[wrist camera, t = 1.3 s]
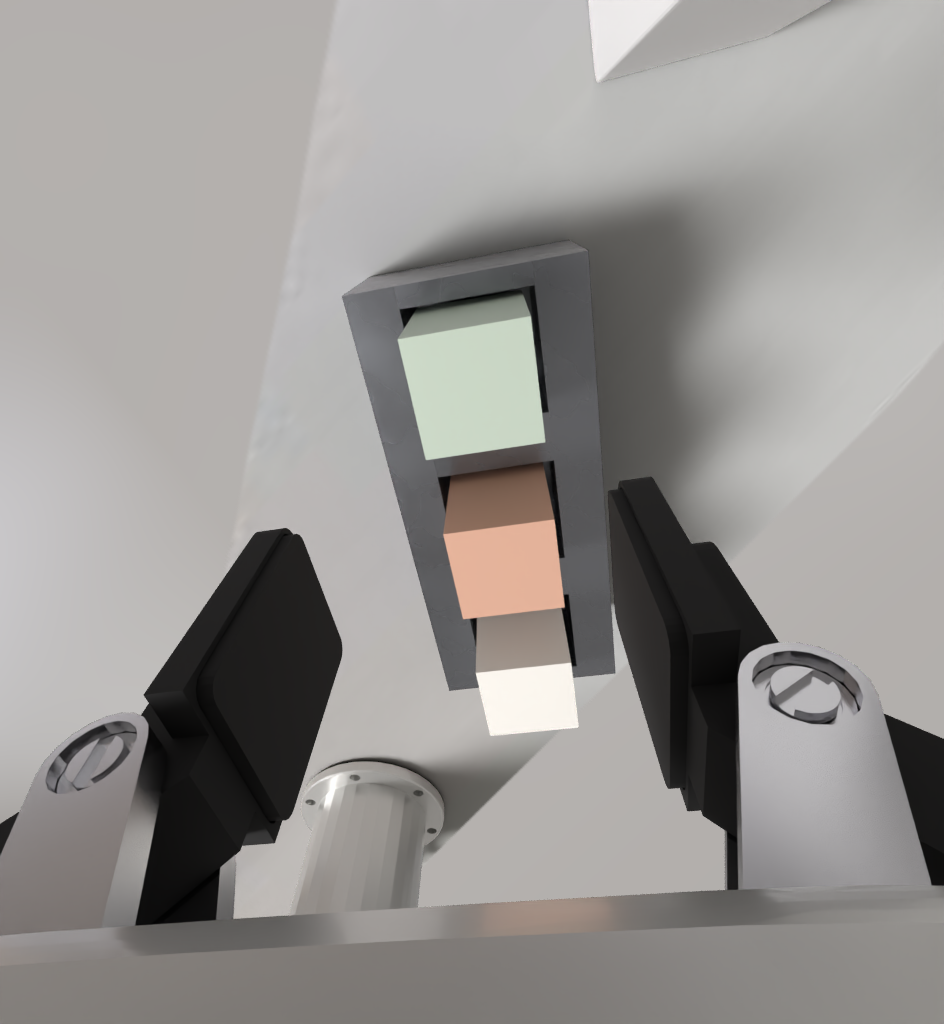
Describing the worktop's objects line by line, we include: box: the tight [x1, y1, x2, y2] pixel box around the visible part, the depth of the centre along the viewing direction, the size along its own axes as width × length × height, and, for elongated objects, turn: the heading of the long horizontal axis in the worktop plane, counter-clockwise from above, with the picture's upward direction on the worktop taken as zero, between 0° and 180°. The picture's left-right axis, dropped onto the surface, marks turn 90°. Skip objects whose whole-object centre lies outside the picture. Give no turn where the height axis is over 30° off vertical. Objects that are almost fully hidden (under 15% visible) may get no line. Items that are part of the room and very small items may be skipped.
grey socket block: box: [342, 240, 615, 691], centre depth 30 cm, size 23×10×6 cm, turn 10°
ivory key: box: [476, 608, 579, 736], centre depth 30 cm, size 5×5×6 cm
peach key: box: [443, 462, 565, 619], centre depth 26 cm, size 5×5×6 cm
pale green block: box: [397, 290, 545, 460], centre depth 23 cm, size 5×5×6 cm
